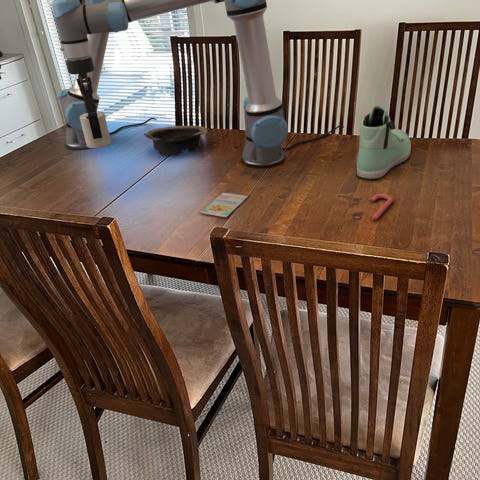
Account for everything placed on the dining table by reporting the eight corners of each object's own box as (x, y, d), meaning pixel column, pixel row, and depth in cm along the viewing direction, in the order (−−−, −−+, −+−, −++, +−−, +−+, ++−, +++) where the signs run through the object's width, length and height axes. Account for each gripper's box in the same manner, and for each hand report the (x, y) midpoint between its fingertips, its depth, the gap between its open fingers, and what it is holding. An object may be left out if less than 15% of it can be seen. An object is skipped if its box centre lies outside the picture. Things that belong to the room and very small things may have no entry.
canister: (87, 141, 154) (79, 113, 150) (110, 138, 156) (104, 110, 151) (86, 149, 148) (79, 120, 143) (111, 145, 150) (104, 116, 145)
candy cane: (355, 217, 134) (355, 212, 134) (376, 195, 144) (376, 191, 144) (376, 222, 131) (376, 217, 130) (395, 199, 141) (396, 195, 141)
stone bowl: (160, 165, 176) (155, 140, 172) (140, 150, 196) (135, 128, 192) (220, 149, 185) (217, 125, 181) (195, 136, 205) (192, 115, 201)
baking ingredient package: (199, 211, 142) (223, 191, 153) (199, 213, 142) (223, 192, 154) (226, 216, 138) (248, 195, 150) (226, 217, 139) (248, 196, 150)
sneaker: (416, 146, 176) (423, 89, 165) (393, 183, 150) (400, 120, 140) (378, 142, 182) (383, 87, 171) (351, 177, 156) (354, 116, 146)
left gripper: (-89, 21, 150) (-62, 90, 161) (-3, 12, 158) (17, 78, 169) (-85, 19, 156) (-60, 85, 167) (-3, 10, 163) (16, 74, 175)
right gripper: (63, 54, 146) (82, 127, 158) (66, 65, 129) (87, 146, 141) (88, 50, 148) (105, 123, 160) (95, 61, 131) (112, 141, 143)
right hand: (96, 134), depth 150 cm, fingers closed on canister, 8 cm apart
